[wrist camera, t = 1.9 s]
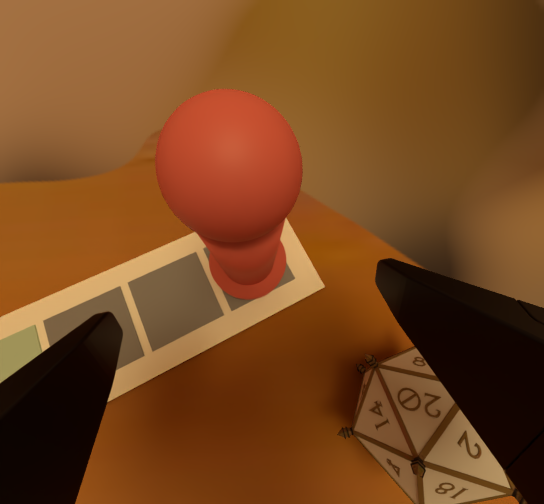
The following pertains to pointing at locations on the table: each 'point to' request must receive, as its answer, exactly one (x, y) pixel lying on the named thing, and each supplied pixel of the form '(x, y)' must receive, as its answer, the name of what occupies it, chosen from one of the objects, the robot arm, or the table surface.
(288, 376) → the table surface
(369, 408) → the game die
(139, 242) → the table surface
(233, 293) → the pawn
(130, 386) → the board
